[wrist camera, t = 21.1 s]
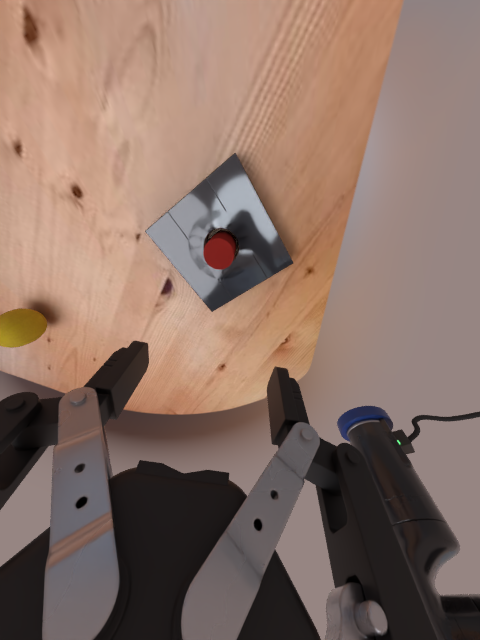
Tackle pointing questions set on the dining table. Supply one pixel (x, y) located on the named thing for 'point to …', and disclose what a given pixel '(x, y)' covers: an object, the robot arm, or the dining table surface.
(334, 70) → the dining table surface
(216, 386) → the dining table surface
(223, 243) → the stopper
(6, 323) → the lemon
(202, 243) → the grey square base
